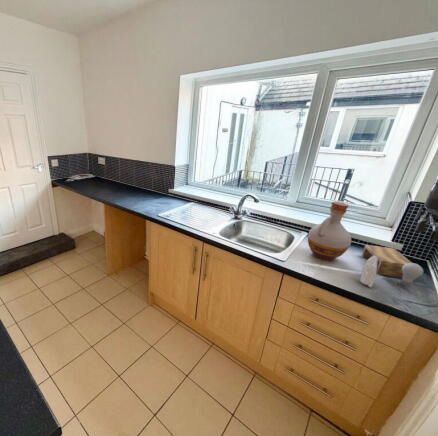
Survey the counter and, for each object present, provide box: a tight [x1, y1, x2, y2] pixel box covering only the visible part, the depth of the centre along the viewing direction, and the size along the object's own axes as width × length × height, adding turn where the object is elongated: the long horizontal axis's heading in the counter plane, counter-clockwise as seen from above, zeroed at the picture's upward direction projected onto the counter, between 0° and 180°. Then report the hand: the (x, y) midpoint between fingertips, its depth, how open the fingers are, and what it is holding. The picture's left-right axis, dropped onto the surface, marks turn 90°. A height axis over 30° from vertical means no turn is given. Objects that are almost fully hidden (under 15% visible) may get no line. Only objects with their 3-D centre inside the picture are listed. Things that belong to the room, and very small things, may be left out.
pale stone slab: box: [359, 256, 379, 288], centre depth 107 cm, size 12×4×11 cm, turn 139°
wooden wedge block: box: [361, 244, 413, 279], centre depth 119 cm, size 12×18×7 cm, turn 159°
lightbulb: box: [401, 262, 424, 287], centre depth 103 cm, size 6×6×11 cm
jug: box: [307, 201, 352, 261], centre depth 122 cm, size 20×18×30 cm
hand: (425, 235), depth 98 cm, fingers open, 8 cm apart
